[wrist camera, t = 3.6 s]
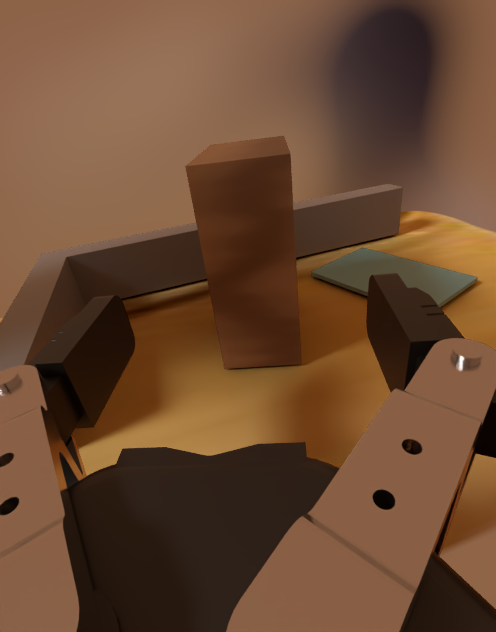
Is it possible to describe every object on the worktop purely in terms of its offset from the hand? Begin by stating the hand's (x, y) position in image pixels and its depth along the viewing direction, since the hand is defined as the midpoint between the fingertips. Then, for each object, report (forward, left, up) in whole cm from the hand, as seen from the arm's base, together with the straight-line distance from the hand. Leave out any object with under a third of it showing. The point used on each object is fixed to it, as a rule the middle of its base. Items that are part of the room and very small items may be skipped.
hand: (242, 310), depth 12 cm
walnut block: (+3, +8, -6) cm, 10 cm away
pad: (+13, +10, -6) cm, 17 cm away
